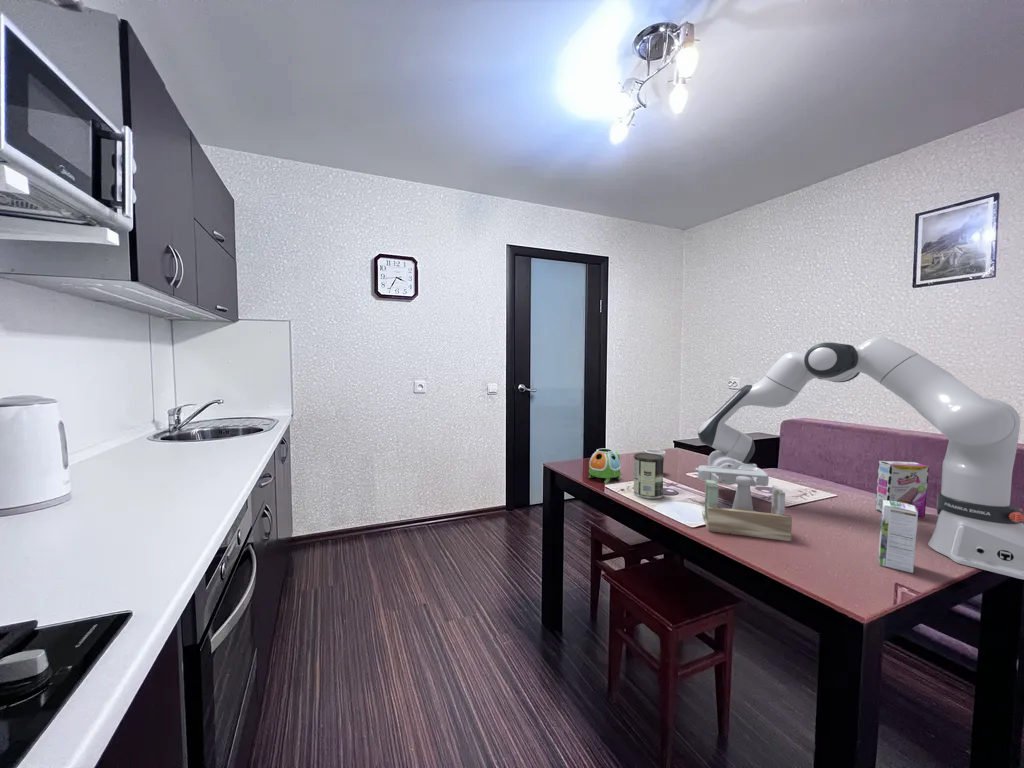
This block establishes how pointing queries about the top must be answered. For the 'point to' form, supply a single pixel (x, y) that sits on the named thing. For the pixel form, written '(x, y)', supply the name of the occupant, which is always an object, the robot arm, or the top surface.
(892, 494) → the candy bar box
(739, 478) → the salt shaker
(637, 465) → the coffee can
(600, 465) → the turtle holder
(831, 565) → the top surface
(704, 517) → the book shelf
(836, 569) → the top surface
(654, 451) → the dixie cup
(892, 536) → the syrup box
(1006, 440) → the robot arm
